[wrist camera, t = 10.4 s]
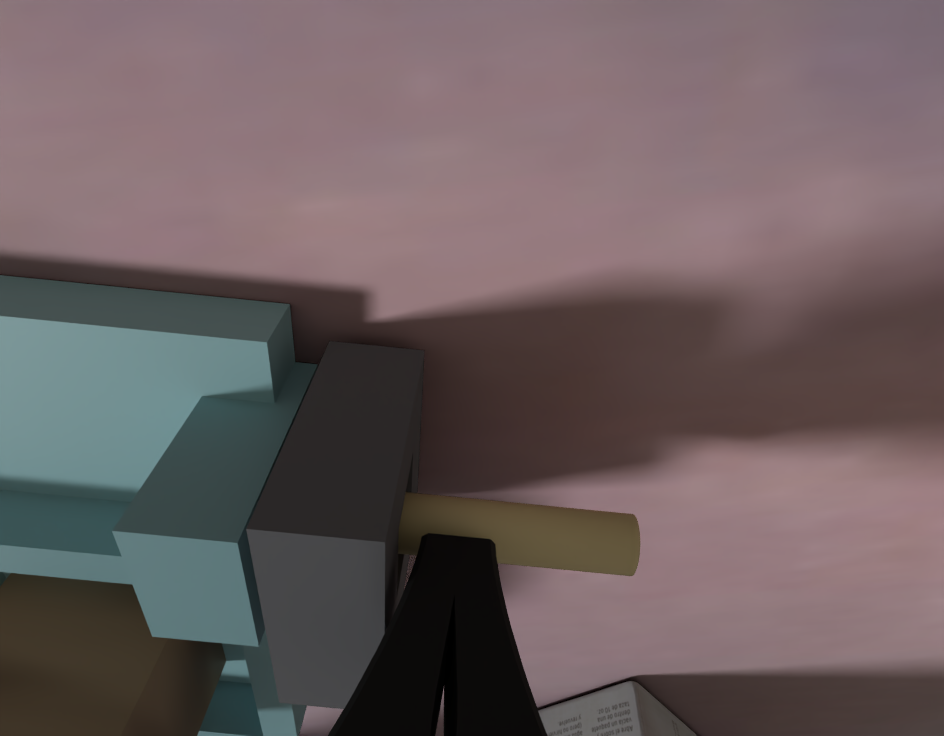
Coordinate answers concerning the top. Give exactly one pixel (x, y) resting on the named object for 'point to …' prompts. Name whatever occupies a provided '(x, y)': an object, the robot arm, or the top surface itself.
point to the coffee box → (613, 715)
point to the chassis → (196, 469)
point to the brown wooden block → (96, 664)
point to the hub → (338, 521)
